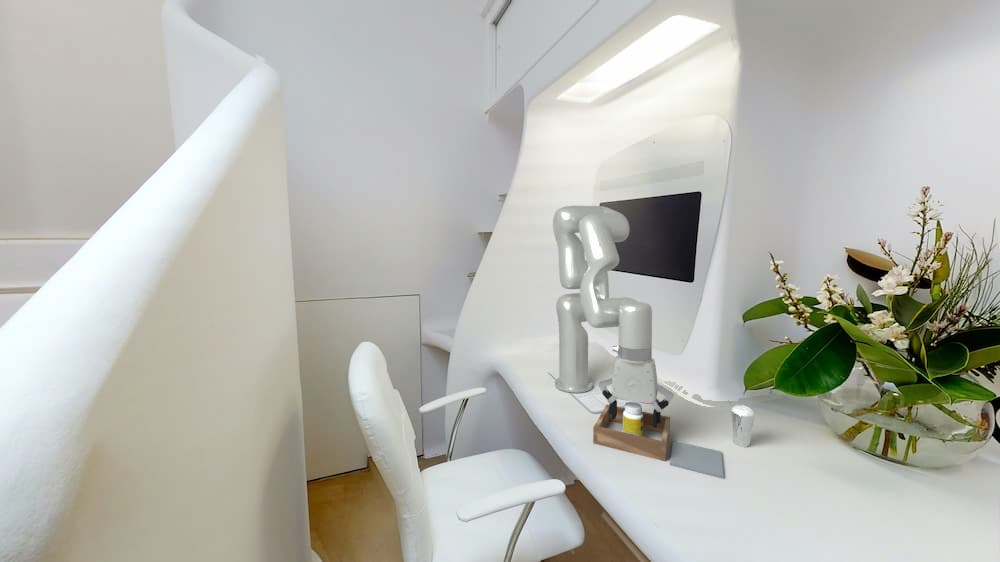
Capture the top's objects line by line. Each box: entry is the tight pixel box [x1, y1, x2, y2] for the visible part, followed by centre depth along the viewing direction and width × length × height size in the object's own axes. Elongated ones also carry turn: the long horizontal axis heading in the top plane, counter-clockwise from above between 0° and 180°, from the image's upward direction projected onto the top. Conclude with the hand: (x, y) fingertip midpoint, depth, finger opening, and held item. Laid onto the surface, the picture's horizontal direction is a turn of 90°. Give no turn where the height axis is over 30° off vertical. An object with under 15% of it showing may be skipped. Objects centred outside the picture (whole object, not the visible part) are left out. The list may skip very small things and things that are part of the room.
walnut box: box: [592, 404, 671, 462], centre depth 90 cm, size 14×16×4 cm
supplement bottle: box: [622, 401, 644, 437], centre depth 90 cm, size 5×5×8 cm
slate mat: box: [669, 440, 725, 479], centre depth 81 cm, size 10×10×1 cm
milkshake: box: [727, 399, 755, 448], centre depth 87 cm, size 4×5×10 cm
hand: (634, 421), depth 89 cm, fingers open, 9 cm apart
